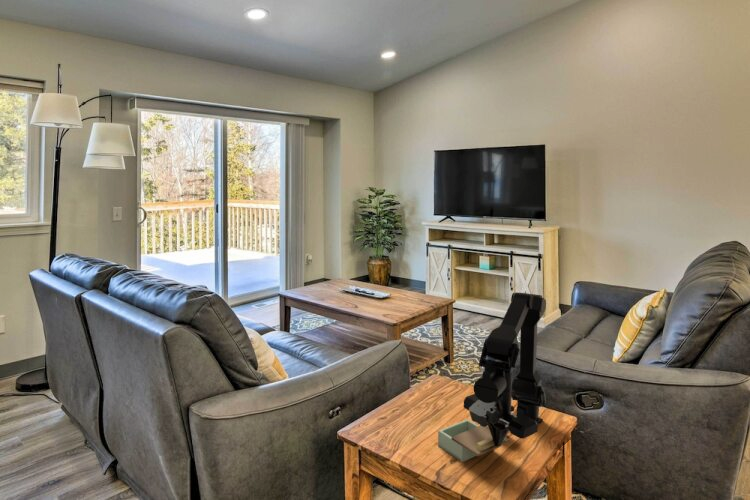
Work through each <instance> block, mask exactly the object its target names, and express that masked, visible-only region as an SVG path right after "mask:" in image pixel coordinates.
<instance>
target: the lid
mask: <svg viewBox="0 0 750 500" xmlns="http://www.w3.org/2000/svg"><path fill="white" fill-rule="evenodd" d="M452 440H453V441H455V442H456V443H458V444H459V445H461V446H463V447H464V448H466V449H467V450H469V451H470V452H472V453H473V454H475V455H476V456H475V457H480V456H482V455H485V454H486V453H488V452H491V451H493V450H496V449H497V448H498V447H496V446H495V445H494V442H493V439H492V436H491V432H490V430H489V427H488V426H486V427H483V426H481V425H480V424H479V426H477V427H475V428H473V429H470V430H468V431H465V432H463V433H461V434H458V435H456V436H453V437H452ZM510 441H511V439H510V438H508V437H507V438H506V437H505V438H504V440H503V442H502V443H501V445H500V446H499V447H502V446H504V445H506V444H508V443H510Z"/></svg>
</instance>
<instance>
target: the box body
mask: <svg viewBox="0 0 750 500" xmlns="http://www.w3.org/2000/svg"><path fill="white" fill-rule="evenodd" d="M477 426H480V424H478V423H476V422H474V421H472V420H470V419H464V420H461V421H459V422H457V423H454V424H451V425H449V426H447V427H443V428H442V429H439V430H437V432H438V433H437V446H438V447H439V448H440V449H441V450H443V451H445V452H446V453H448V454H449V455H450V456H452V457H453V458H455V459H457V460H458V462H461V463H464V462H466V461H468V460H470V459H472V458H474V457H477V456H476V455H475V454H473V453H472V452H470V451H469V450H467V449H466V448H464V447H463V446H461V445H459V444H458V443H456V442H455V441H453V440H452V437H453V436H456V435H458V434H461V433H463V432H465V431H468V430H470V429H473V428H475V427H477Z"/></svg>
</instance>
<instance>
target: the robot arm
mask: <svg viewBox="0 0 750 500" xmlns="http://www.w3.org/2000/svg"><path fill="white" fill-rule="evenodd" d="M546 309H547V300H546V299H545V298H544V297H543V295H541V294H534V293H529V292H528V293H526V292H517V291H516V292H513V293H512V294H511V298H510V303H509V306H508V308H507V310H506V312H505V314H504V317H503V319H502V321H501V322H500V325H499V326H498V327H496V328H494V329H492V330H491V331H490V333H489V334H488V336H487V337H486V338H485V339H484V343H483V346H482V350H481V354H480V358H479V363H478V367H482V368H484V371H483V372H482V375H480V377H479V378H478V379H477V380H476V381H475V382H474V384H473V392H474V393H473V394H470V395H467V396H466V397H465V398H464V400H463V409H465V410H467V411H468V412H469V415H470V418H471V421H472V422H473V423H475V424H477V425H479V426H480V425H481V426H483V427H486V426H487V427H488V428H489V430H490V432H491V436H492V439H493V442H494V445H495V446H496V447H497V448H500V447H501V446H500V445H501V443H502V442H503V440H504V438H505V436H506V434H507V435H508V433H510V434H511V435H513V436H515V437H517V438H519V439H521V440H522V439H526V438H527V437H530V436H533V434H536V433H538V429H539V427H538V426H539V425H538V424H540V423H542V422H543V421H544V419H543V418H541V417H540V413H539V412H540V408H542V407H543V406H546V399H547V398H546V391H545V388H544V386H543V385H542V383H543V382H542V377H541V376H540V374H539V372H538V370H537V350H538V349H537V346H538V344H537V343H538V323H539V321H540V320H541V318H543V316H544V315H545V314H544V313H545V312H546ZM519 335H520V340H519V341H518V336H519ZM487 358H488V359H487ZM492 359H493V360H492ZM518 362H519V370H518V371H519V372H518V373H517V374H516V376H515V377H514V378H513V371H514V369H516V368H517V365H518ZM512 400H513V401H517V402H516V403H517V404H516V411H515V406H514V405H512ZM513 412H516V414H514V413H513Z"/></svg>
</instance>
